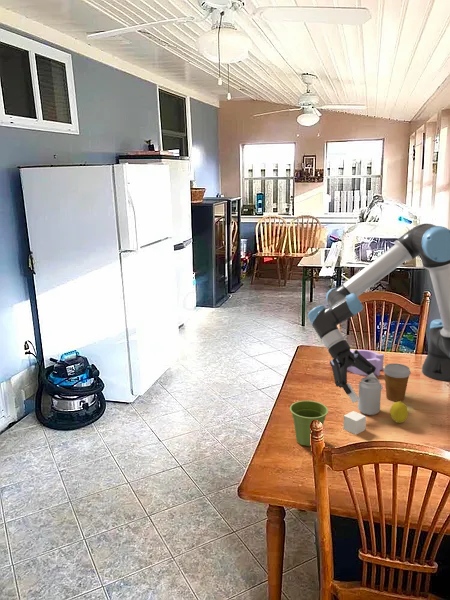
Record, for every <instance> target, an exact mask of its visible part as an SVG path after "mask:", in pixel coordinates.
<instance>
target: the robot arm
mask: <svg viewBox="0 0 450 600" xmlns="http://www.w3.org/2000/svg"><path fill="white" fill-rule="evenodd" d="M419 256H420V258H421V262H422V267H423V268H424V269H426V270H428V271H429V276H430V280H431V285H432V288H433V292H434V295H435V299H436V304H437V307H438V312H439V315H440V318H436V319H432V321H431V322H430V325H429V333H428V334H429V335H428V347H427V349H428V350H427V354H426V355H427V356H426V358H425V360H424V362H423V364H422V367H421V373H422V374H423V375H425V376H426V377H428V378H431V379H434V380H437V381H439V380H440V381H450V229H449V228H447V227H445V226H439V225H435V224H431V223H422V224H419V225H415V227H413V228H411V229H409V230H408V231H406V232H405V233H404V234H403V235H401V236H400V237H398V238H397V239H396V240H395V241H394V245H392V246H391V247H390V248H389V249H387V250H386V251H384V252H383V253H382V254H380V255H379V256H378V257H377V258H375V259H373V261H371V262H370V263H369V264H367V265H366V266H365V267H363V268H362V269H361V270H359V271H358V272H357V273H356V274H354V275H353V276H352V277H350V278H349V279H348V280H347V281H345V282H344V283H342V284H341V285H340V286H338V287H333V288H330V289H329V290H328V291H327V292H326V297H325V298H326V302H327V303H328V307H325V306H324V305H323V304H320V305H317V306H315V307H313V308H312V309H311V310H310V311H308V313H307V319H308V321H309V323H310V324H311V326H312V328H313V329H314V331H315V332H316V334H317V335H318V337H319V338H320V340H321V341H322V343H323V344H324V346H325V348H326V349H328V350H327V351H328V353H329V355H330V356H331V358H332V359H331V360H330V361H329V365H330V366H331V369H332V374H333V378H334V384H335V387H339V389H341V388H342V389H343V390H344V393H345V394H346V395H348V397H349V398H350V401H351V402H352V403H353V404H355V403H356V402H357V403H358V400H360V399H359V398H358V397H359V395H358V394H357V393H356V391H355V390H354V388H353V386H352V385H351V383H350V382H348V371H347V368H348V367H351V366H353V367H356V368H358V369H359V370H361V371H363V372H364V373H366V374H368V376H366V377H374V378H377V379H378V376H377V375H375V374H374V371H375V369H376V367H375V366H373V365H372V364H371V363H370V362H369V361H368V360H366V359H365V358H364V357H363V356H362V355H361V354H360V353H359V352H358V351H357V350H358V349H354V350H355V351H354V352H353V353H352V352H351V351H350V350H351V345H350V344H349V343H348V341H347V339H345V337H344V335H343V333H342V332H341V330H340V328H338V325H340V324H342V323H343V322H345V321H347V320H349V319H350V318H352V317H354V316H356V315H358V314H359V313H360V312H362V311H363V309H364V306H363V303H362V302H361V300H360V299H359V296H361V295H362V294H363V293H365V292H366V291H367V290H368V289H370V288H372V287H373V286H374V285H376V284H377V283H379V281H381V280H383V278H385V277H386V276H387V275H389V274H390V273H391V272H393V271H394V270H396V269H397V268H398V267H400V266H402V264H404V263H405V262H407V261H412V260H414V259H415V258H417V257H419ZM333 358H334V359H333ZM354 361H355V362H354ZM378 380H379V379H378ZM379 383H380V384H381V382H379ZM383 389H384V386H382V385H381V390H383Z"/></svg>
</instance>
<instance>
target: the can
mask: <svg viewBox="0 0 450 600" xmlns="http://www.w3.org/2000/svg"><path fill="white" fill-rule="evenodd" d="M377 378H378V377H377ZM377 378H374V377H367V376H364V377H362V378H361V379H360V381H359V383H358V398H359V399H360V400H358V401H357V410H358V411H360V413H361V414H362V415H365V416H366V415H367V416H375V415H377V414H378V413H379V412H380V411H381V398H382V395H381V394H382V389H381V386H382V383H381V382H380V380H379V379H377ZM379 382H380V383H379Z"/></svg>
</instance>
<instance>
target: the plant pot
mask: <svg viewBox="0 0 450 600" xmlns="http://www.w3.org/2000/svg"><path fill="white" fill-rule="evenodd" d="M289 411H290V412H291V415H292V418H293V420H292V421H293V424H294V425H293V426H294V432H295V439H296V442H297V443H298V444H299V445H301V446H306V447H311V446H310V434H311V430H310V424H311V422H312V421H313V420H318V421H320V422H321V423H322V424H323V425H324V422H325V419H326V417H327V415H328V413H329V408H328V407H327V406H326V405H325V404H323V403H321V402H318V401H314V400H300V401H299V400H298V401H296V402H293V403H292V404H290V406H289Z"/></svg>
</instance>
